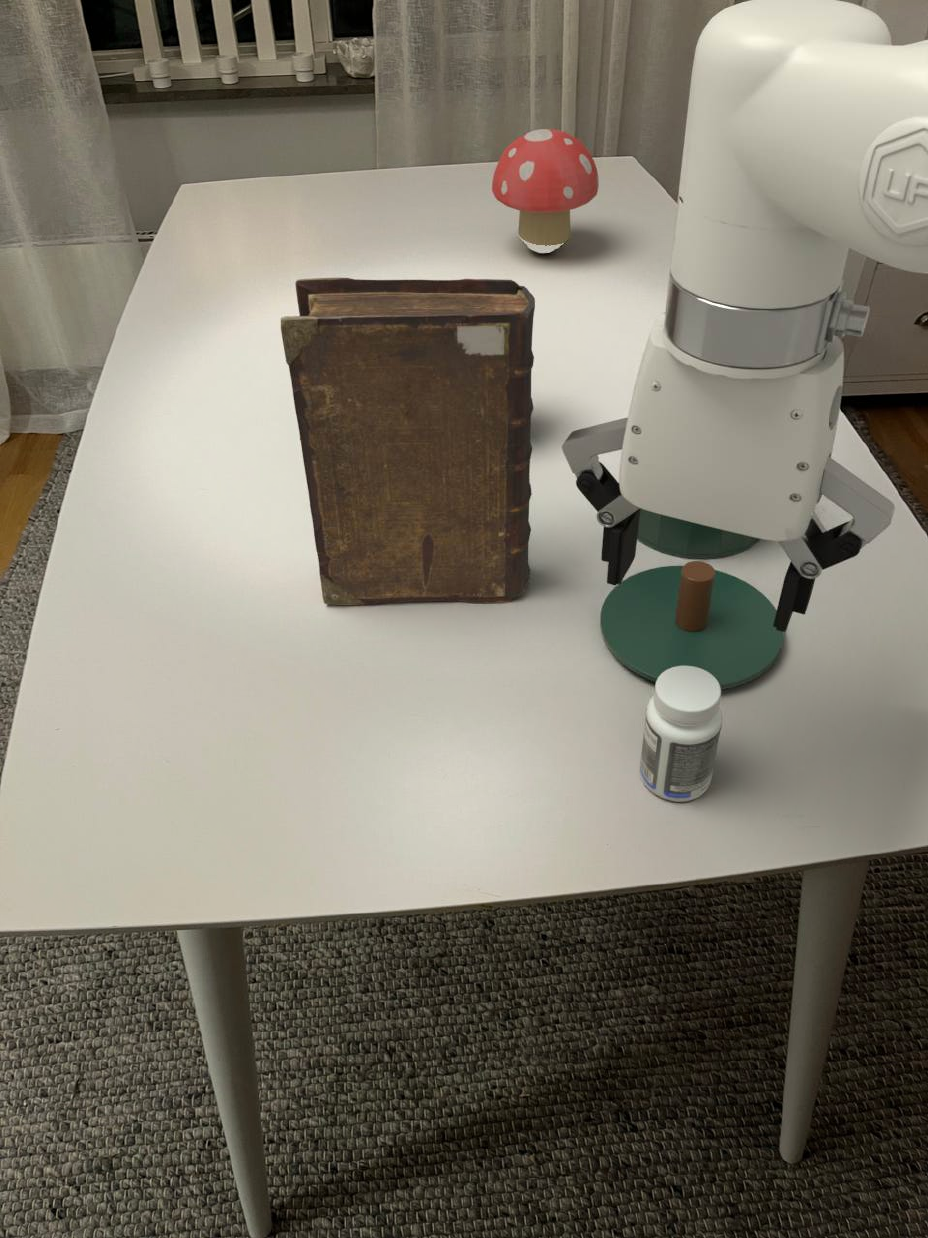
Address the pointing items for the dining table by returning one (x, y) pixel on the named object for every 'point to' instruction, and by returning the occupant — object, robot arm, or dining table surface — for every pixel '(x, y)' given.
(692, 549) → the tin
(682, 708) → the pill bottle
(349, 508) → the book
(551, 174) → the decorative mushroom
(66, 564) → the dining table surface
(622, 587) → the tin lid
